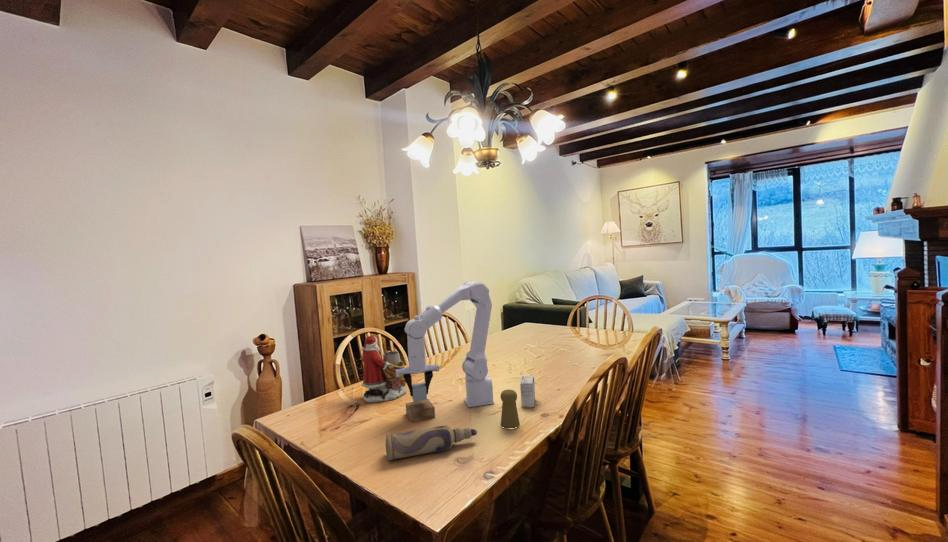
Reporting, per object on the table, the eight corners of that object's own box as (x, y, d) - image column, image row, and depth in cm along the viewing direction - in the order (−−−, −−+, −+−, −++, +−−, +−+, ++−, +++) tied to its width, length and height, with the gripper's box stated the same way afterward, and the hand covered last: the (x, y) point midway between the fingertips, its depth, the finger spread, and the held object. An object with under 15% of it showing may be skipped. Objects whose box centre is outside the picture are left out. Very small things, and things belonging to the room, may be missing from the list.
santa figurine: (409, 388, 162) (404, 328, 161) (404, 401, 148) (398, 336, 147) (368, 391, 162) (362, 331, 160) (359, 405, 148) (353, 339, 146)
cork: (521, 421, 125) (520, 388, 125) (517, 430, 120) (515, 395, 119) (503, 420, 127) (501, 386, 127) (498, 428, 122) (496, 393, 121)
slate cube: (425, 395, 137) (424, 382, 136) (426, 399, 132) (426, 386, 132) (412, 397, 136) (411, 384, 135) (413, 401, 131) (412, 388, 131)
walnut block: (428, 409, 140) (427, 398, 139) (435, 418, 132) (434, 406, 132) (406, 414, 137) (405, 403, 136) (411, 423, 129) (411, 411, 129)
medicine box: (534, 408, 136) (533, 383, 135) (521, 407, 137) (520, 383, 136) (535, 399, 143) (534, 376, 143) (523, 399, 144) (521, 375, 144)
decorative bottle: (387, 467, 103) (386, 442, 103) (386, 453, 110) (384, 430, 110) (481, 448, 110) (480, 425, 110) (474, 436, 117) (473, 415, 117)
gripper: (395, 360, 128) (398, 401, 128) (439, 355, 131) (442, 395, 132) (394, 355, 134) (396, 394, 135) (436, 350, 138) (438, 388, 139)
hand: (419, 394), depth 134 cm, fingers closed on slate cube, 4 cm apart
